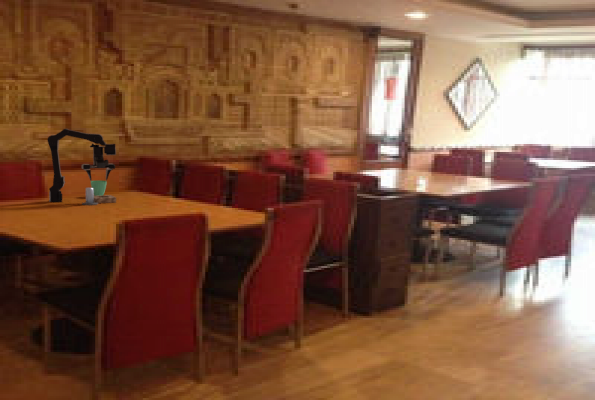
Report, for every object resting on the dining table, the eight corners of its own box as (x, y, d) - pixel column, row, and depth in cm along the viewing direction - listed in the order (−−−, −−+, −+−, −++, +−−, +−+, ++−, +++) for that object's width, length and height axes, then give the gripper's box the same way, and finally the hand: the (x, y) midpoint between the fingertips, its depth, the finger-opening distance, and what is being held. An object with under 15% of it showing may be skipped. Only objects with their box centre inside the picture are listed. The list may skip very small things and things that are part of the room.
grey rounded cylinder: (86, 203, 368) (86, 188, 367) (85, 202, 372) (84, 187, 371) (94, 203, 370) (94, 188, 369) (92, 202, 374) (92, 187, 373)
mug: (106, 197, 400) (106, 182, 399) (89, 197, 398) (89, 182, 397) (108, 194, 414) (107, 179, 413) (92, 194, 412) (92, 179, 411)
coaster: (84, 205, 365) (84, 204, 365) (80, 203, 373) (80, 202, 373) (99, 204, 370) (99, 203, 370) (95, 202, 377) (95, 201, 377)
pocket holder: (95, 203, 375) (95, 198, 375) (90, 200, 385) (90, 195, 385) (116, 202, 381) (116, 197, 381) (110, 199, 391) (110, 195, 391)
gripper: (85, 156, 368) (85, 182, 370) (117, 155, 377) (117, 181, 379) (81, 154, 377) (81, 180, 379) (112, 154, 387) (113, 179, 389)
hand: (98, 180), depth 381 cm, fingers open, 9 cm apart
